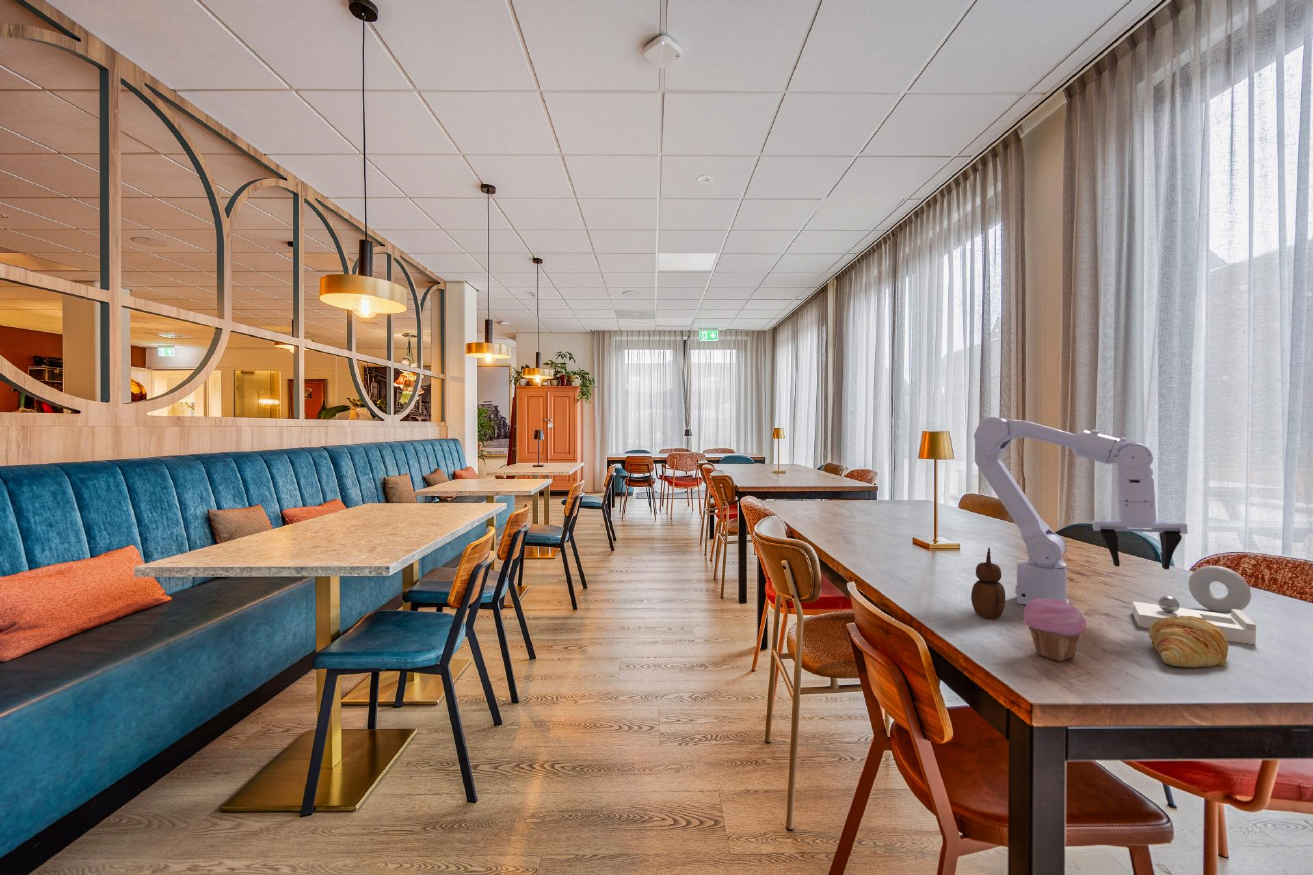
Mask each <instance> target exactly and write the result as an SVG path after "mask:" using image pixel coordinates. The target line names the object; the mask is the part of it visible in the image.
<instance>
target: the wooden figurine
mask: <svg viewBox="0 0 1313 875" xmlns="http://www.w3.org/2000/svg"><path fill="white" fill-rule="evenodd" d="M991 559H992V558H991V547H989V546H988V547H987V552H986V557H985V562H979V563H978V564H977V565H976V568H975V576H976V578H977V579H978V580H977V581H975V583H974V584H973V585H972V589H971V594H970V598H971V599H970V600H971V604H972V607H973V610H974V612H975V614H976V615H977V616H978V617H981V618H983V619H988V620H994V619H995V620H996V619H1000V618H1001V617H1002V615H1003V613H1004V610H1005V607H1006V590H1005V587H1004V585H1003V584H1002V582H1000V580H1001V579H1002V569H1001V567H1000V566H999V565H998V564H996V563H992V560H991Z"/></svg>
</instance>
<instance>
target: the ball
mask: <svg viewBox="0 0 1313 875" xmlns="http://www.w3.org/2000/svg"><path fill="white" fill-rule="evenodd" d="M1157 605H1159V607H1160V608H1161V609H1162V610H1163V611H1165V612H1169V613H1173V612H1176V611H1178V610H1179V608H1181V606H1180V602H1179V601H1178V600H1177V599H1176V598H1175V597H1173V596H1169V595H1165V596H1161V597H1160V598H1159V599H1158V601H1157Z"/></svg>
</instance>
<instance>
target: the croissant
mask: <svg viewBox="0 0 1313 875" xmlns="http://www.w3.org/2000/svg"><path fill="white" fill-rule="evenodd" d="M1147 630H1148V637H1149V639H1150V640H1151V641H1150V642H1151V646H1152V647H1153V648H1155V649H1156V651H1157V654H1158V655H1159V656H1160V657H1161V659H1162V661H1163V662H1164V663H1166V664H1165V665H1170V666H1174V667H1182V668H1183V667H1184V668H1204V667H1205V668H1208V667H1217V666H1223V665H1225V664H1226V663H1227V658H1228V653H1229V641H1227V638H1226V636H1225V634H1224V633H1223V632H1222V631H1221V630H1220V629H1219V628H1218V627H1216V626H1215V625H1214V624H1212V623H1210V622H1208V621H1206V620H1205V619H1203V618H1198V617H1193V616H1180V617H1176V616H1173V617H1168V618H1163V619H1161V620H1159V621H1157V622H1155V623H1154V624H1153V625H1151V626H1150V627H1149V628H1148V629H1147Z"/></svg>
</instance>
